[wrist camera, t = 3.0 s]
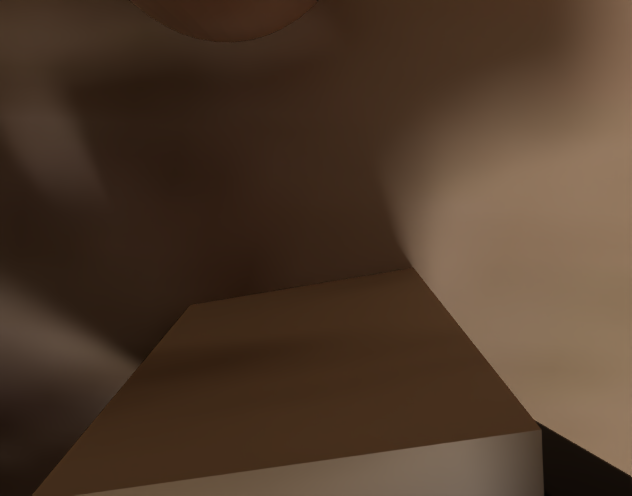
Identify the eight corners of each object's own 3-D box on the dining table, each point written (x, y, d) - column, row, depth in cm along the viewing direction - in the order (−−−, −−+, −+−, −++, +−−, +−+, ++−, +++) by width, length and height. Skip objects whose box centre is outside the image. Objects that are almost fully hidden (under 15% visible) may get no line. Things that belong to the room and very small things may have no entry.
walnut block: (435, 454, 10) (554, 767, 5) (241, 481, 10) (165, 805, 5) (412, 266, 8) (540, 429, 3) (191, 303, 9) (25, 501, 4)
